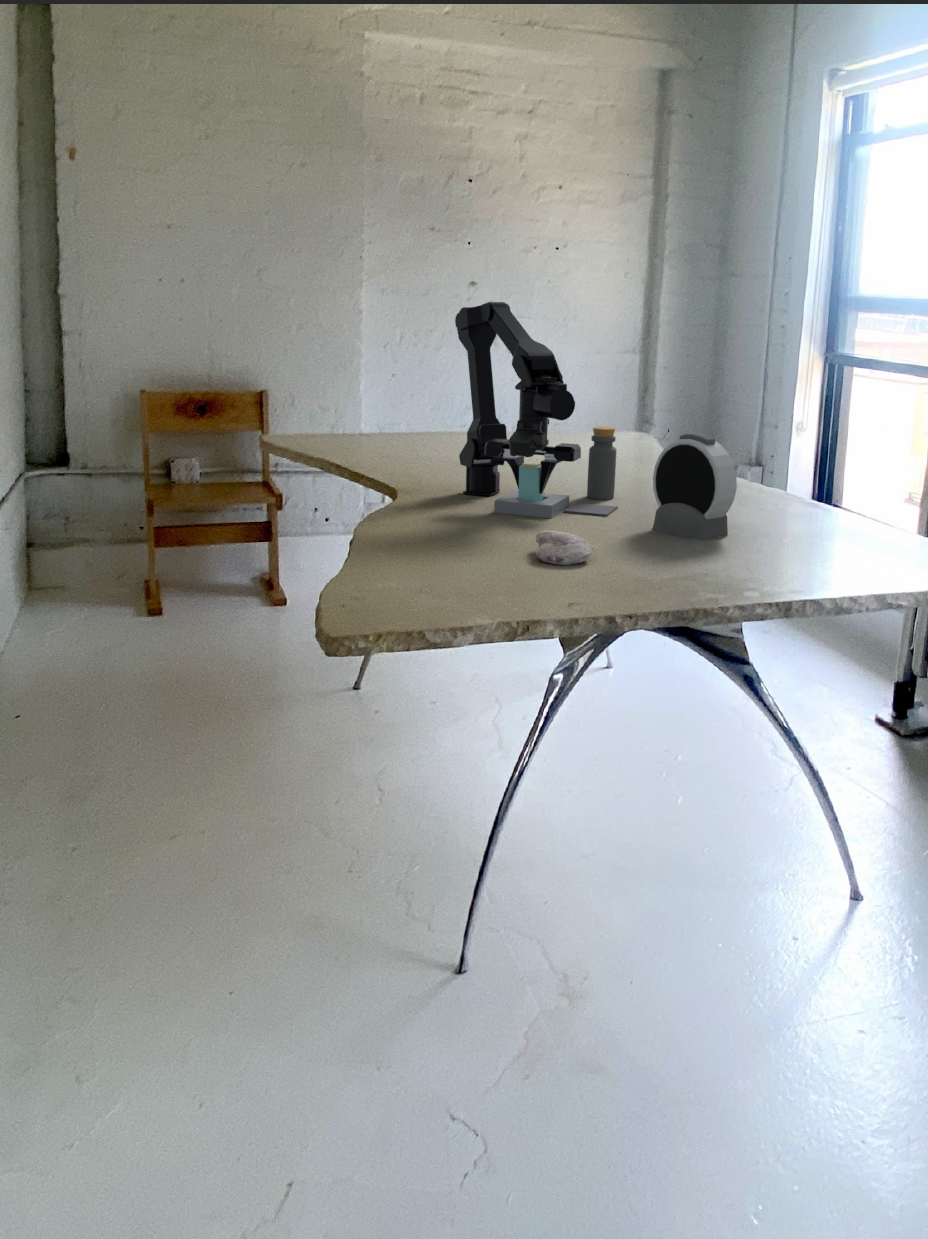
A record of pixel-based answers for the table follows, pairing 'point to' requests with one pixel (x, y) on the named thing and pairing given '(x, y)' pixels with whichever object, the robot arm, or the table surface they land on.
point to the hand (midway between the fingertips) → (531, 492)
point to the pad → (591, 509)
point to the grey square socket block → (532, 505)
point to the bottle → (602, 464)
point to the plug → (530, 481)
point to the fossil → (562, 548)
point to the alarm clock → (694, 488)
